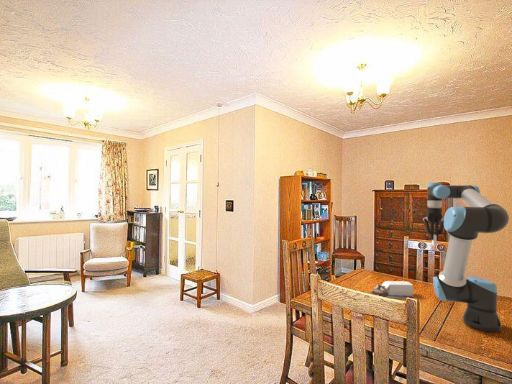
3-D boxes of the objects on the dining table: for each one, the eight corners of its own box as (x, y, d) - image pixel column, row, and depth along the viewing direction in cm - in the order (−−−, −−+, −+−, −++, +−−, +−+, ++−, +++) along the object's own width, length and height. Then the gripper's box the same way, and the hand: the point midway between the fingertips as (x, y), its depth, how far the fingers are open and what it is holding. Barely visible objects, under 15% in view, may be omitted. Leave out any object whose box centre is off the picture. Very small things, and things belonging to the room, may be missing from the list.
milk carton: (407, 281, 183) (379, 280, 184) (413, 284, 176) (383, 284, 177) (407, 291, 183) (379, 291, 184) (413, 295, 176) (383, 295, 177)
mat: (413, 299, 170) (413, 299, 170) (383, 297, 174) (383, 296, 174) (402, 288, 190) (402, 288, 190) (376, 287, 194) (376, 286, 194)
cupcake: (371, 297, 174) (372, 282, 174) (388, 300, 169) (388, 284, 169) (369, 302, 165) (369, 286, 165) (387, 306, 160) (387, 289, 160)
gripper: (443, 207, 172) (443, 244, 172) (420, 206, 175) (420, 243, 175) (449, 207, 165) (448, 246, 165) (425, 207, 168) (425, 245, 168)
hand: (434, 245), depth 170 cm, fingers closed
